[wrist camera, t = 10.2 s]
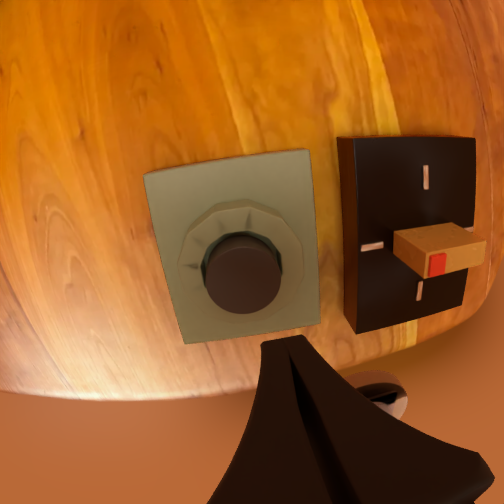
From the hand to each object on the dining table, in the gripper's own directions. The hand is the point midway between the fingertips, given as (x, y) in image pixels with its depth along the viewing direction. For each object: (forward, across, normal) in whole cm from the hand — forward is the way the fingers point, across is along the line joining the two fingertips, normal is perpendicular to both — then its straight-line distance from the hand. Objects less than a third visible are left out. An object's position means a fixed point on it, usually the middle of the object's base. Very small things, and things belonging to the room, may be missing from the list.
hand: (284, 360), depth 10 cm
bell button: (+7, +1, 0) cm, 7 cm away
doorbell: (+10, +1, 0) cm, 10 cm away
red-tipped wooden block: (+7, -10, 0) cm, 13 cm away
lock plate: (+10, -10, 0) cm, 14 cm away
